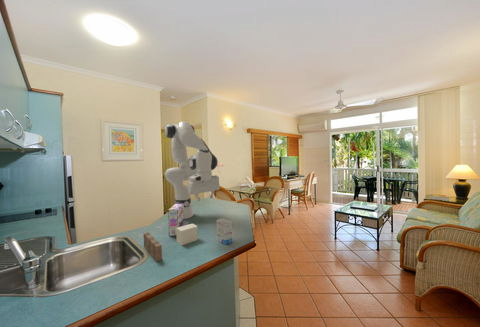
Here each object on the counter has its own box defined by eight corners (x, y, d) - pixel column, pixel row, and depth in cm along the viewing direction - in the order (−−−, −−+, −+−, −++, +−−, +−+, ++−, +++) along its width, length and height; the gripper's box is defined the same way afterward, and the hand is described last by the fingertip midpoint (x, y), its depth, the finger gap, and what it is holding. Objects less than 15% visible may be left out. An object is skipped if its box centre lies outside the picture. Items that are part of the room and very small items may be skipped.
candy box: (178, 236, 116) (177, 209, 115) (168, 236, 115) (167, 209, 115) (184, 227, 129) (184, 203, 128) (176, 227, 129) (175, 203, 128)
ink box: (232, 242, 107) (232, 221, 106) (226, 245, 104) (225, 223, 103) (223, 237, 113) (222, 217, 113) (216, 240, 110) (215, 219, 109)
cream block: (176, 241, 109) (176, 227, 108) (192, 236, 115) (192, 223, 115) (181, 245, 104) (180, 231, 104) (197, 239, 111) (197, 226, 110)
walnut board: (144, 246, 104) (143, 233, 103) (148, 244, 105) (148, 232, 105) (156, 261, 89) (156, 246, 89) (162, 259, 91) (161, 245, 90)
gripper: (215, 174, 125) (216, 195, 126) (186, 177, 111) (187, 201, 112) (221, 175, 120) (222, 197, 121) (191, 178, 107) (192, 203, 107)
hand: (205, 199), depth 116 cm, fingers open, 8 cm apart
